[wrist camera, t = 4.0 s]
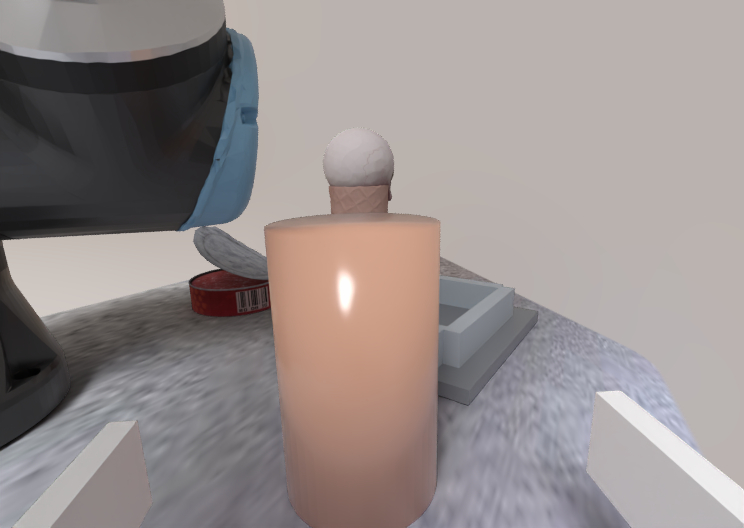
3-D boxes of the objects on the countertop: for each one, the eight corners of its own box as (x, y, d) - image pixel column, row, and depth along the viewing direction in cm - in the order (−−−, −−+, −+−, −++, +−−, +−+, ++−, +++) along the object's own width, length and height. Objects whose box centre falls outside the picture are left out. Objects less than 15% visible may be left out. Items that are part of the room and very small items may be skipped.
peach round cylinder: (255, 488, 18) (226, 228, 15) (351, 412, 24) (342, 210, 21) (380, 574, 14) (372, 245, 11) (461, 459, 20) (468, 217, 17)
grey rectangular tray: (286, 343, 33) (283, 303, 32) (391, 293, 46) (390, 263, 45) (468, 405, 24) (470, 352, 23) (537, 321, 37) (540, 284, 36)
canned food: (245, 323, 51) (267, 248, 53) (292, 336, 44) (315, 249, 46) (153, 303, 43) (183, 216, 45) (192, 315, 36) (225, 212, 38)
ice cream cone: (408, 255, 65) (408, 126, 60) (354, 267, 58) (349, 122, 53) (366, 246, 73) (363, 132, 68) (315, 256, 66) (307, 129, 61)
